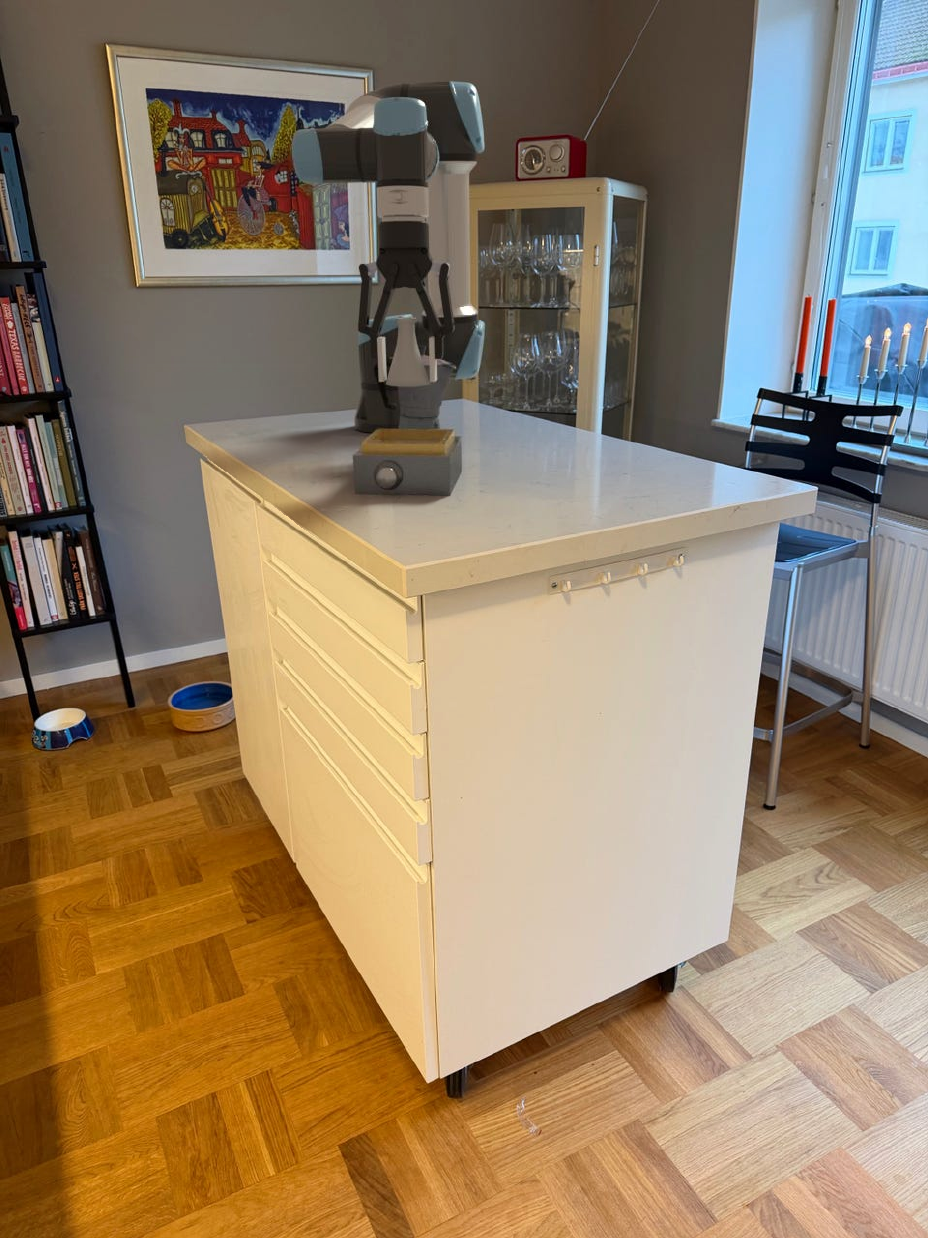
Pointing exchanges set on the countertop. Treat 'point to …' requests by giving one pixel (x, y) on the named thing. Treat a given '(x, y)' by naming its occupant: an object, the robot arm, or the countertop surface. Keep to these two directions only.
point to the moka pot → (419, 396)
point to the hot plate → (408, 462)
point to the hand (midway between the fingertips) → (408, 380)
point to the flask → (407, 358)
